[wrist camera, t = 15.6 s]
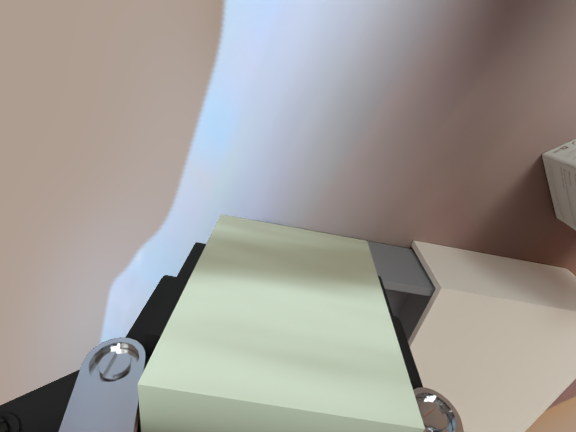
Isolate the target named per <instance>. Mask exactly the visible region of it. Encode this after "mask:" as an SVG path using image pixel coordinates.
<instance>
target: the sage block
mask: <svg viewBox="0 0 576 432" xmlns="http://www.w3.org/2000/svg"><path fill="white" fill-rule="evenodd" d="M137 386H138V398H139V410H140V423H141V432H423V431H424V430H425V427H424V424H423V421H422V417H421V414H420V411H419V408H418V404H417V401H416V398H415V395H414V391H413V388H412V385H411V382H410V378H409V375H408V372H407V369H406V366H405V362H404V359H403V356H402V353H401V349H400V346H399V343H398V340H397V336H396V333H395V330H394V327H393V323H392V320H391V317H390V314H389V311H388V307H387V304H386V301H385V298H384V294H383V291H382V288H381V285H380V281H379V278H378V275H377V272H376V268H375V265H374V262H373V259H372V256H371V252H370V249H369V246H368V243H367V241H365V240H360V239H354V238H349V237H343V236H338V235H332V234H327V233H321V232H316V231H310V230H305V229H299V228H294V227H288V226H283V225H277V224H272V223H266V222H261V221H255V220H249V219H244V218H238V217H233V216H227V215H222V214H221V216H220V218H219V220H218V222H217V224H216V226H215V228H214V230H213V232H212V234H211V236H210V238H209V240H208V242H207V244H206V246H205V248H204V250H203V252H202V254H201V256H200V258H199V260H198V262H197V264H196V266H195V268H194V270H193V272H192V274H191V276H190V278H189V280H188V282H187V284H186V287H185V289H184V291H183V293H182V295H181V297H180V299H179V301H178V303H177V305H176V307H175V309H174V311H173V313H172V315H171V317H170V319H169V321H168V323H167V325H166V327H165V329H164V331H163V333H162V335H161V337H160V339H159V341H158V343H157V345H156V347H155V349H154V351H153V353H152V355H151V357H150V360H149V362H148V364H147V366H146V368H145V370H144V372H143V374H142V376H141V378H140V380H139V382H138V384H137Z"/></svg>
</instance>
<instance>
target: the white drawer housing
mask: <svg viewBox="0 0 576 432" xmlns="http://www.w3.org/2000/svg"><path fill="white" fill-rule="evenodd" d="M411 246H412V248H413V249H414V251H415V253H416V255H417V256H418V258H419V260H420V262H421V264H422V265H423V267H424V269H425V271H426V272H427V274H428V276H429V278H430V279H431V281H432V283H433V285H434V286H435V288H436V289H435V291H434V293H433V295H432V297H431V299H430V301H429V303H428V304H427V306H426V308H425V310H424V312H423V314H422V316H421V318H420V320H419V322H418V323H417V325H416V327H415V329H414V331H413V333H412V335H411V337H410V339H409V341H408V344H409V347H410V349H411V352H412V355H413V358H414V361H415V364H416V367H417V370H418V373H419V376H420V379H421V382H422V385H423V387H425V388H429V389H432V390H434V391H436V392H438V393H440V394H441V395H443V396H444V397H445V398H446V399H448V400H449V401H450V403H451V404H452V405H453V406H454V407H455V409H456V410H457V412H458V414H459V416H460V418H461V421H462V425H463V431H467V432H525V431H526V430H527V429H528V428H529V427H530V426H531V425H532V424H533V422H535V420H536V419H537V418H538V417H539V416H540V415H541V414H542V413H543V412H544V411H545V410H546V409H547V408H548V407H549V406H550V405H551V404H552V403H553V402H554V401H555V400H556V399H557V398H558V396H559V395H560V394H561V393H562V392H563V391H564V390H565V389H566V388H567V387H568V386H569V385H570V384H571V383H572V382H573V381H574V380H575V379H576V276H575V275H574V274H572V273H571V272H570V271H569V270H567V269H566V268H561V267H556V266H550V265H545V264H539V263H534V262H529V261H523V260H518V259H512V258H507V257H501V256H496V255H491V254H485V253H480V252H474V251H469V250H463V249H458V248H452V247H447V246H442V245H436V244H431V243H425V242H420V241H414V240H413V242H412V245H411Z"/></svg>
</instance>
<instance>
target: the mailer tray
mask: <svg viewBox="0 0 576 432" xmlns="http://www.w3.org/2000/svg"><path fill="white" fill-rule="evenodd" d="M367 243H368V246H369V249H370V252H371V256H372V259H373V262H374V265H375V268H376V272H377V275H378V276H380V277H381V279H382V282H383V285H384V288H385V291H386V294H387V297H388V300H389V303H390V307H391V310H392V313H393V316H397V317H399V319H400V321H401V323H402V326H403V329H404V332H405V335H406V338H407V341H409V339H410V337H411V335H412V333H413V331H414V329H415V327H416V325H417V323H418V322H419V320H420V318H421V316H422V314H423V312H424V310H425V308H426V306H427V304H428V303H429V301H430V299H431V297H432V295H433V293H434V291H435V289H436V288H435V286H434V285H433V283H432V281H431V279H430V278H429V276H428V274H427V272H426V271H425V269H424V267H423V265H422V264H421V262H420V260H419V258H418V256H417V255H416V253H415V251H414V249H409V248H403V247H398V246H392V245H387V244H381V243H376V242H370V241H367Z"/></svg>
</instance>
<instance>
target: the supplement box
mask: <svg viewBox="0 0 576 432" xmlns="http://www.w3.org/2000/svg"><path fill="white" fill-rule="evenodd" d="M542 158H543V162H544V167H545V171H546V176H547V180H548V184H549V188H550V193H551V197H552V201H553V205H554V209H555V214H556V218H557V219H559V220H560V221H562V222H564V223H565V224H567V225H568V226H570V227H571V228H573V229H574V230H576V139H574V140H572V141H570V142H567V143H565V144H563V145H561V146H559V147H556V148H554V149H552V150H550V151H548V152H546V153H544V154H542Z"/></svg>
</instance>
